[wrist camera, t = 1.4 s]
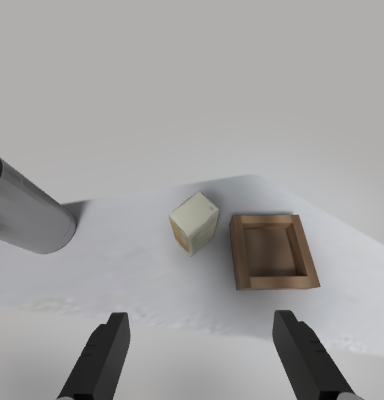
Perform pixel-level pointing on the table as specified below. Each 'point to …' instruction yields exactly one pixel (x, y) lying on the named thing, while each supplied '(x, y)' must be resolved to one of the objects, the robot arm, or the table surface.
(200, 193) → the skincare box
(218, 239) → the table surface
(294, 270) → the block
